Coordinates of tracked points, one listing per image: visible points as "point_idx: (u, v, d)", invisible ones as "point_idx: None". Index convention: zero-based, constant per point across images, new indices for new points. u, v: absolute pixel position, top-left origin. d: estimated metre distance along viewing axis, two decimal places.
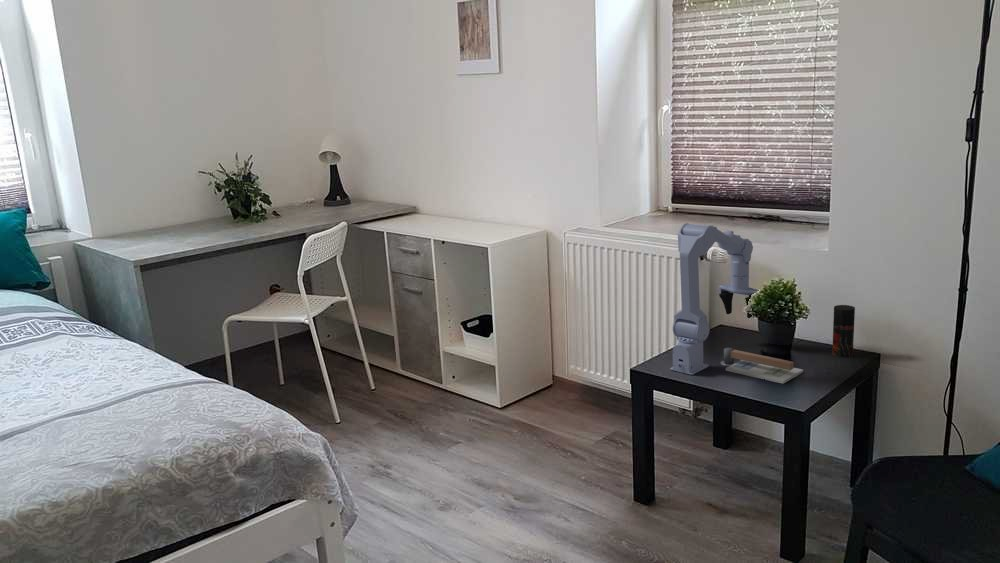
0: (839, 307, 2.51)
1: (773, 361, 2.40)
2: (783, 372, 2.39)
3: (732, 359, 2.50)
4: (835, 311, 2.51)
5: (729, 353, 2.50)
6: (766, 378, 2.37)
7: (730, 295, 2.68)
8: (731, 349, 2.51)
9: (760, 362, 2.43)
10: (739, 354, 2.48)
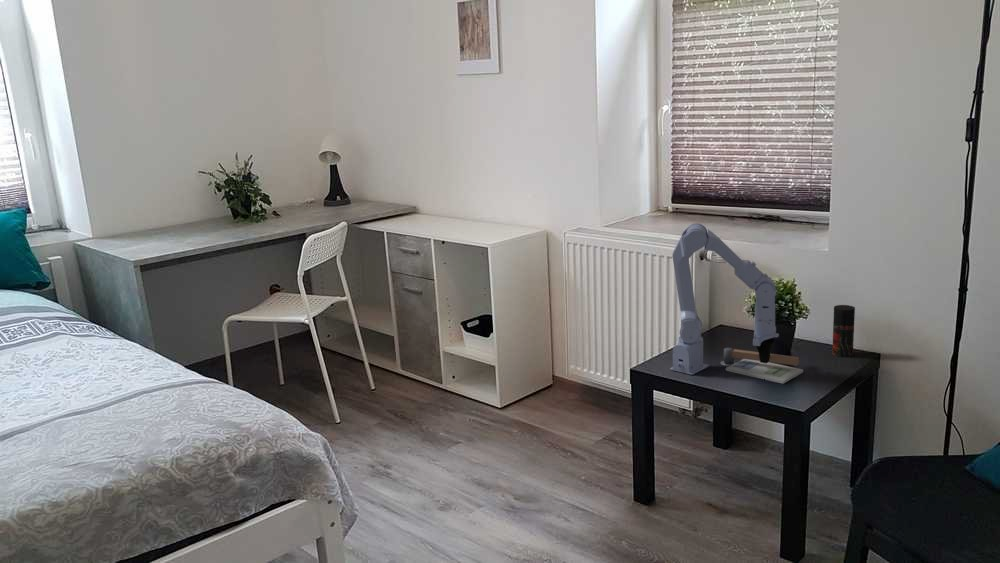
0: (839, 307, 2.51)
1: (778, 358, 2.42)
2: (783, 372, 2.39)
3: (733, 359, 2.51)
4: (835, 311, 2.51)
5: (730, 353, 2.50)
6: (766, 378, 2.37)
7: None
8: (731, 349, 2.51)
9: None
10: (741, 354, 2.48)
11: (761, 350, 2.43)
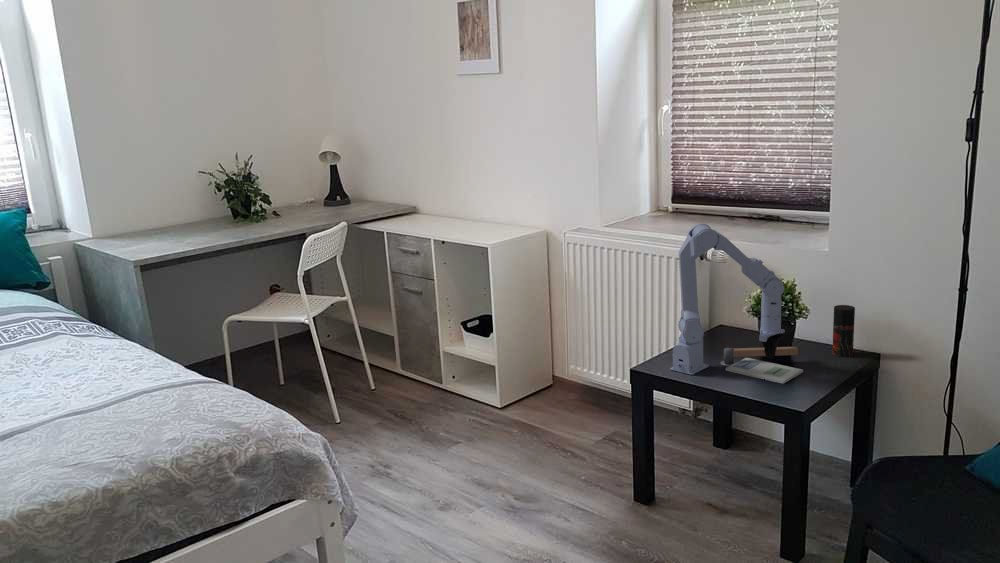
0: (839, 307, 2.51)
1: (780, 350, 2.49)
2: (783, 372, 2.39)
3: (733, 358, 2.51)
4: (835, 311, 2.51)
5: (732, 353, 2.50)
6: (766, 378, 2.37)
7: None
8: (730, 348, 2.51)
9: None
10: (743, 352, 2.50)
11: (767, 346, 2.47)
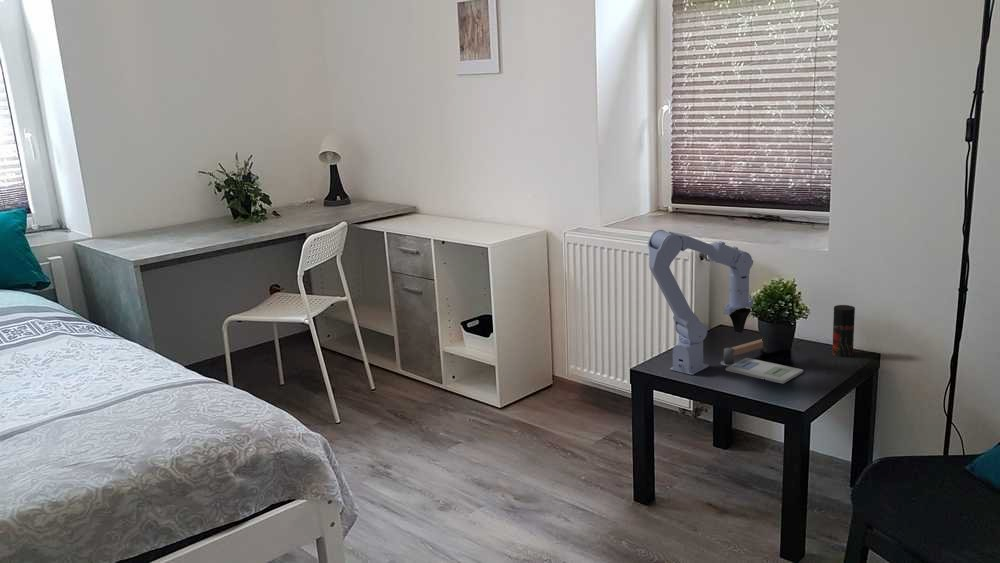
0: (839, 307, 2.51)
1: None
2: (783, 372, 2.39)
3: None
4: (835, 311, 2.51)
5: (733, 352, 2.51)
6: (766, 378, 2.37)
7: None
8: (729, 348, 2.52)
9: (757, 347, 2.56)
10: (741, 349, 2.52)
11: (735, 320, 2.51)
